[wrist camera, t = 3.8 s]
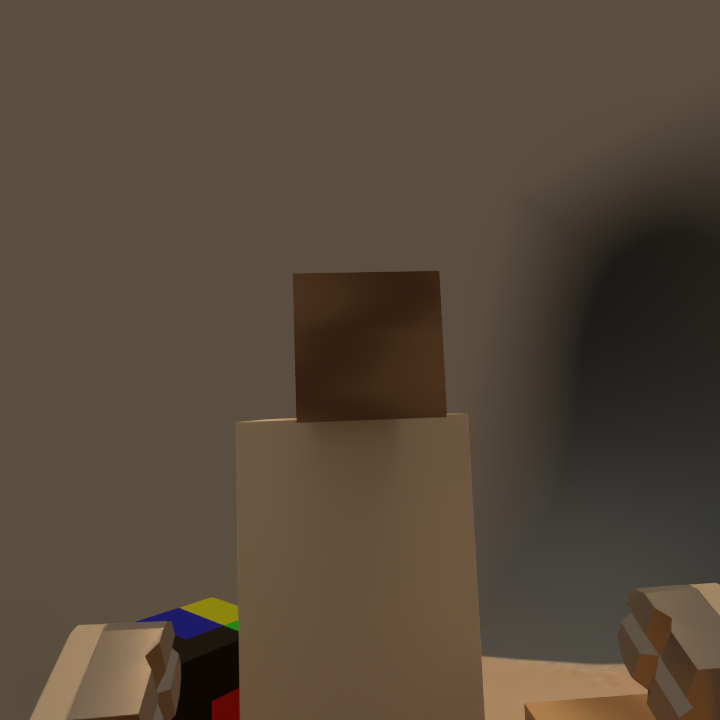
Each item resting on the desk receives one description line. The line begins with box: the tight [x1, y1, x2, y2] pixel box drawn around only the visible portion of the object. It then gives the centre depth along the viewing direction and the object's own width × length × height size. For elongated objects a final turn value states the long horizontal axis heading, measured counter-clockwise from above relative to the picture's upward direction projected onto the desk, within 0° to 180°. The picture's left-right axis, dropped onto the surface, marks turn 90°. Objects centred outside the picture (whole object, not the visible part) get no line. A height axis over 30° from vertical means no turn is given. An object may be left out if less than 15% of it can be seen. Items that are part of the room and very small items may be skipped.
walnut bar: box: [293, 271, 447, 423], centre depth 26 cm, size 4×24×4 cm, turn 4°
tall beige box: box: [236, 414, 485, 720], centre depth 30 cm, size 10×16×26 cm, turn 4°
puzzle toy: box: [137, 597, 240, 720], centre depth 42 cm, size 10×10×10 cm
